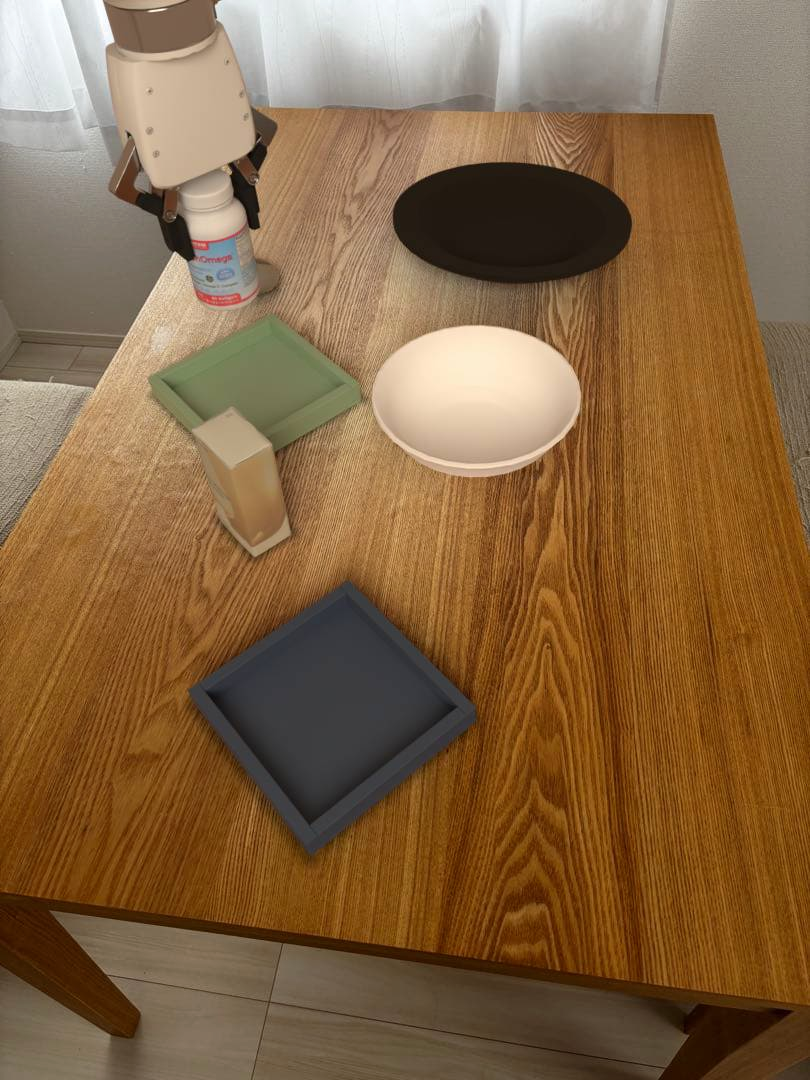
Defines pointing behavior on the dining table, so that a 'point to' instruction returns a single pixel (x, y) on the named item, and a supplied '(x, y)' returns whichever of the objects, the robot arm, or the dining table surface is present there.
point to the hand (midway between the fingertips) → (215, 236)
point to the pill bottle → (219, 243)
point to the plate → (512, 222)
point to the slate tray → (331, 713)
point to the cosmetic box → (243, 480)
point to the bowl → (476, 399)
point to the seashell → (267, 276)
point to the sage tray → (258, 382)
